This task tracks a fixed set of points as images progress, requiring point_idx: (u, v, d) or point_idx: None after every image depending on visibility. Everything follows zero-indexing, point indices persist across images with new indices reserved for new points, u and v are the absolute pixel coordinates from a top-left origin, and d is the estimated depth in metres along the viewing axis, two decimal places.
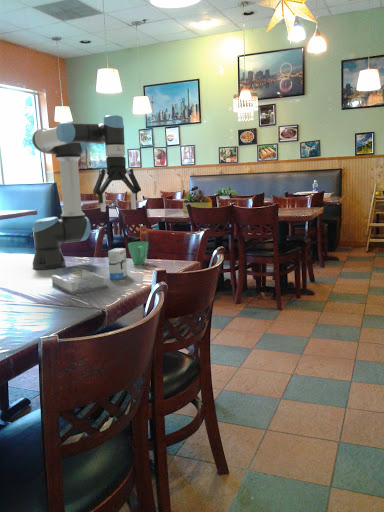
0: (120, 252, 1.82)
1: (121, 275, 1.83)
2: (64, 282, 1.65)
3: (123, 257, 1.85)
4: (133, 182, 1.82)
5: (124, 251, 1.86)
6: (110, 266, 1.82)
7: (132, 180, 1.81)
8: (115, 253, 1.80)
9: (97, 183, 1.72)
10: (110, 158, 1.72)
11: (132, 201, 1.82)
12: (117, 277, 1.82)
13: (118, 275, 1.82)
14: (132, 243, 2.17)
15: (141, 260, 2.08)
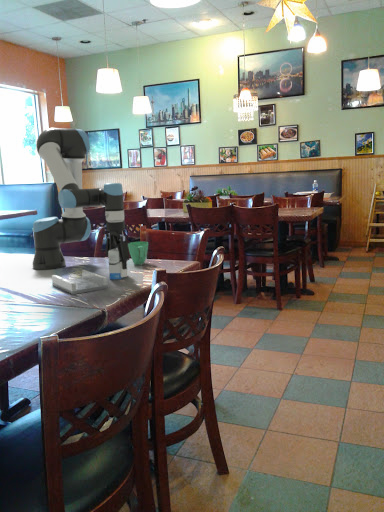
0: None
1: None
2: (64, 282, 1.65)
3: None
4: None
5: None
6: (110, 266, 1.82)
7: None
8: (115, 253, 1.80)
9: None
10: None
11: None
12: (117, 277, 1.82)
13: (118, 275, 1.82)
14: (132, 243, 2.17)
15: (141, 260, 2.08)
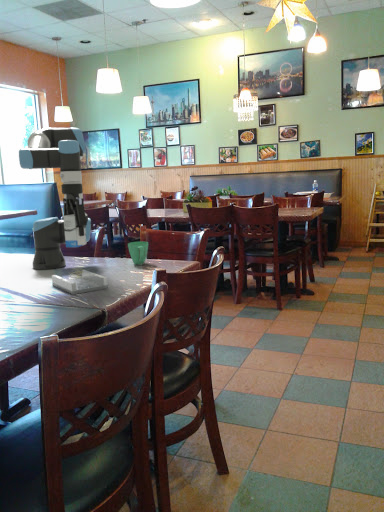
0: None
1: None
2: (64, 282, 1.65)
3: None
4: None
5: None
6: (66, 233, 1.65)
7: None
8: (71, 218, 1.63)
9: None
10: None
11: None
12: (74, 245, 1.65)
13: (75, 242, 1.65)
14: (132, 243, 2.17)
15: (141, 260, 2.08)
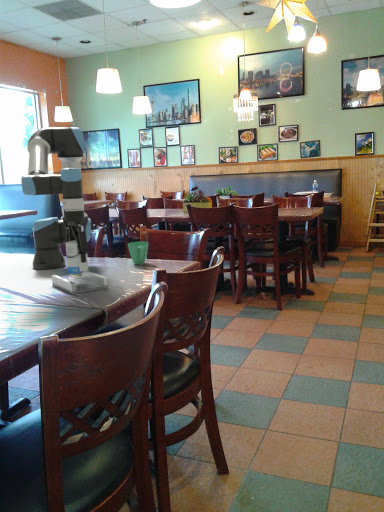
0: None
1: None
2: (64, 282, 1.65)
3: None
4: None
5: None
6: (68, 259, 1.66)
7: None
8: (73, 245, 1.65)
9: None
10: None
11: None
12: (76, 271, 1.66)
13: (77, 269, 1.66)
14: (132, 243, 2.17)
15: (141, 260, 2.08)
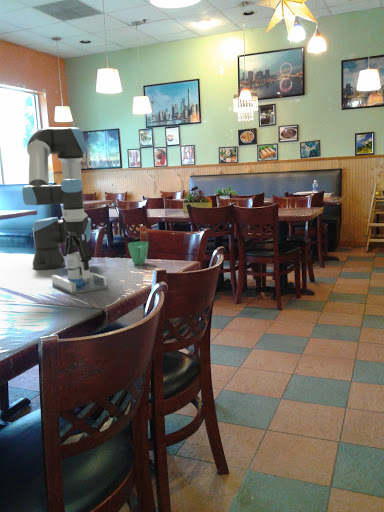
0: (79, 256, 1.67)
1: (81, 281, 1.68)
2: (64, 282, 1.65)
3: None
4: None
5: None
6: (68, 271, 1.67)
7: None
8: (73, 257, 1.66)
9: None
10: None
11: None
12: (76, 283, 1.67)
13: (77, 281, 1.67)
14: (132, 243, 2.17)
15: (141, 260, 2.08)
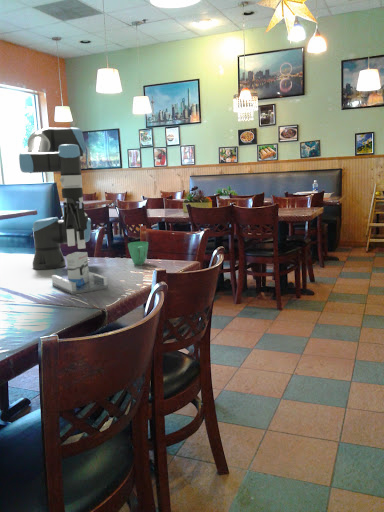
0: (79, 256, 1.67)
1: (81, 281, 1.68)
2: (64, 282, 1.65)
3: (84, 261, 1.70)
4: None
5: (85, 255, 1.72)
6: (68, 271, 1.67)
7: None
8: (73, 257, 1.66)
9: None
10: None
11: None
12: (76, 283, 1.67)
13: (77, 281, 1.67)
14: (132, 243, 2.17)
15: (141, 260, 2.08)
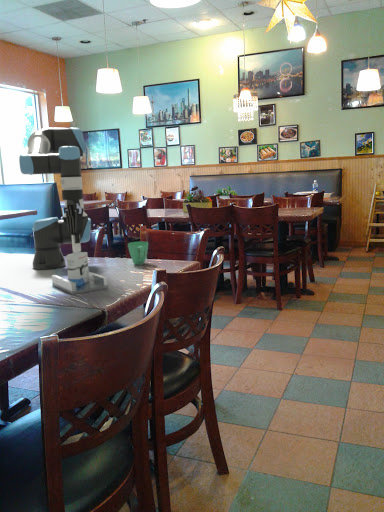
0: (79, 256, 1.67)
1: (81, 281, 1.68)
2: (64, 282, 1.65)
3: (84, 261, 1.70)
4: None
5: (85, 255, 1.72)
6: (68, 271, 1.67)
7: None
8: (73, 257, 1.66)
9: None
10: None
11: None
12: (76, 283, 1.67)
13: (77, 281, 1.67)
14: (132, 243, 2.17)
15: (141, 260, 2.08)
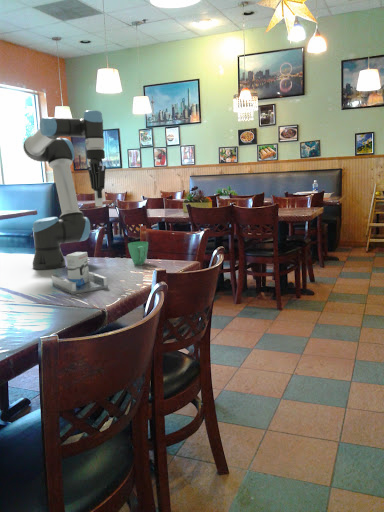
0: (79, 256, 1.67)
1: (81, 281, 1.68)
2: (64, 282, 1.65)
3: (84, 261, 1.70)
4: None
5: (85, 255, 1.72)
6: (68, 271, 1.67)
7: None
8: (73, 257, 1.66)
9: None
10: None
11: None
12: (76, 283, 1.67)
13: (77, 281, 1.67)
14: (132, 243, 2.17)
15: (141, 260, 2.08)
